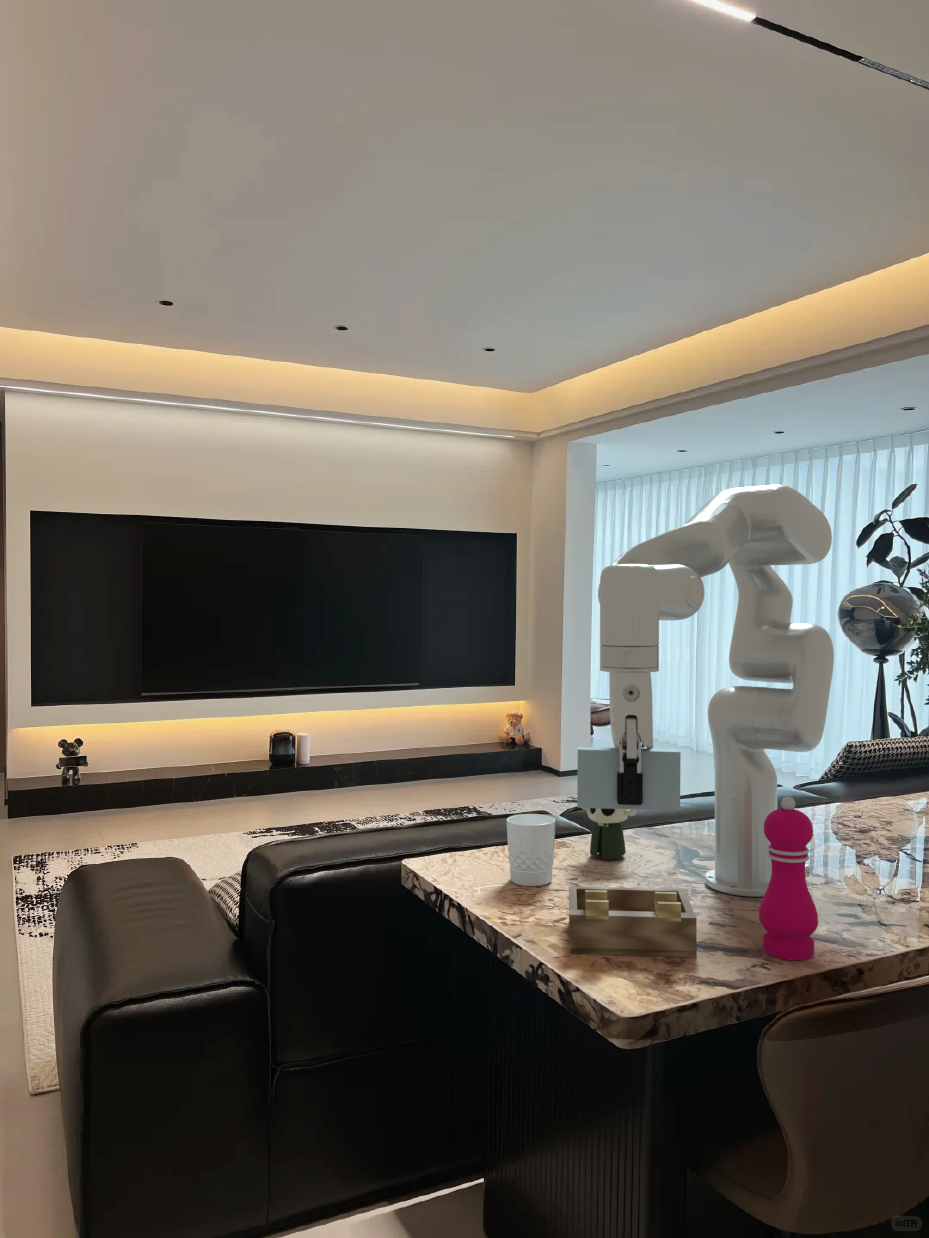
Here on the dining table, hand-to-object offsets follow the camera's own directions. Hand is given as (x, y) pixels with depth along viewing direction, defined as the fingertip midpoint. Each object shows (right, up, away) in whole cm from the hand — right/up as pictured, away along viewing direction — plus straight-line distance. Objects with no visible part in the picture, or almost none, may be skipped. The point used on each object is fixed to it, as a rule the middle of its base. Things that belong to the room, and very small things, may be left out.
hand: (629, 800), depth 121 cm
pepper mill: (+20, -20, -1) cm, 28 cm away
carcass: (+1, -19, +4) cm, 20 cm away
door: (0, -1, 0) cm, 1 cm away
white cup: (-10, -19, +31) cm, 38 cm away
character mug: (+4, -19, +44) cm, 48 cm away
